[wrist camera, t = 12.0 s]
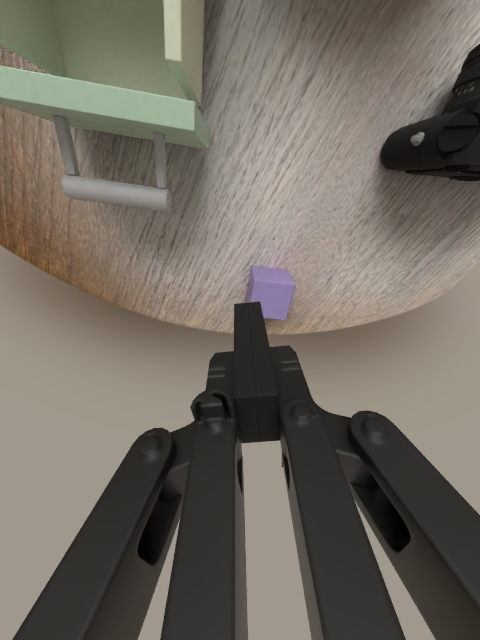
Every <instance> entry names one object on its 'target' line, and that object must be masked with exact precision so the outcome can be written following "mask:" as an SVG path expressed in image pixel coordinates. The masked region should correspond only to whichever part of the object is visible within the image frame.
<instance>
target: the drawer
mask: <svg viewBox="0 0 480 640" xmlns="http://www.w3.org/2000/svg"><path fill="white" fill-rule="evenodd" d="M203 33H204V0H0V45H2V46H4V47H6V48H7V49H9V50H11V51H12V52H14V53H16V54H18V55H19V56H21V57H23V58H24V59H26V60H28V61H29V62H31V63H33V64H35V65H36V66H38V67H40V68H41V69H43V70H45V71H47V72H48V73H50V74H52V75H48V74H43V73H37V72H32V71H26V70H21V69H15V68H10V67H5V66H0V104H2V105H5V106H8V107H11V108H14V109H17V110H20V111H23V112H26V113H29V114H32V115H35V116H38V117H41V118H44V119H47V120H50V121H53V122H54V124H55V128H56V132H57V136H58V140H59V145H60V149H61V153H62V157H63V161H64V166H65V170H66V173H67V174H65V175H63V177H62V187H63V190H64V192H65V194H66V195H67V196H68V197H69V198H72V199H79V200H86V201H93V202H100V203H107V204H115V205H122V206H129V207H136V208H143V209H150V210H157V211H164V212H170V210H171V205H172V198H171V192H170V190H169V189H166V188H167V175H166V148H165V142H166V143H172V144H178V145H184V146H190V147H196V148H202V149H208V150H209V140H210V131H209V129H208V127H207V125H206V123H205V121H204V119H203V117H202V115H201V113H200V111H199V109H198V107H197V106H199V107H201V102H202V67H203ZM70 127H76V128H82V129H88V130H94V131H100V132H106V133H112V134H118V135H124V136H130V137H136V138H142V139H148V140H154V151H155V168H156V185H157V187H151V186H144V185H138V184H131V183H124V182H118V181H111V180H104V179H97V178H91V177H84V176H77V175H80V173H79V168H78V164H77V159H76V154H75V150H74V145H73V140H72V135H71V131H70Z"/></svg>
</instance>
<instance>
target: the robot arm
mask: <svg viewBox="0 0 480 640" xmlns="http://www.w3.org/2000/svg"><path fill="white" fill-rule="evenodd" d="M190 408H191V410H192V413H193V416H194V419H195V421H193V422H192V423H191V424H189V425H187V426H185V427H183V428H181V429H178V430H176V431H173V432H170V433H169V431H168V430H166V429H163V428H153V429H151V430H148V431H146V432H145V433H143V434H142V435H141V436H139V437H138V439H137V440H136V441H135V442H134V443H133V445H132V446H131V448H130V450H129V451H128V453H127V455H126V456H125V458H124V459H123V461H122V463H121V464H120V466H119V468H118V469H117V471H116V472H115V474H114V476H113V477H112V479H111V481H110V482H109V484H108V485H107V487H106V489H105V490H104V492H103V494H102V495H101V497H100V498H99V500H98V502H97V503H96V505H95V507H94V508H93V510H92V512H91V513H90V515H89V516H88V518H87V520H86V521H85V523H84V524H83V526H82V528H81V529H80V531H79V533H78V534H77V536H76V537H75V539H74V541H73V542H72V544H71V545H70V547H69V549H68V550H67V552H66V554H65V555H64V557H63V558H62V560H61V562H60V563H59V565H58V567H57V568H56V570H55V571H54V573H53V575H52V577H51V578H50V580H49V581H48V583H47V584H46V586H45V588H44V590H43V591H42V593H41V594H40V596H39V597H38V599H37V601H36V602H35V604H34V606H33V607H32V609H31V610H30V612H29V614H28V615H27V617H26V619H25V620H24V622H23V623H22V625H21V627H20V628H19V630H18V632H17V633H16V635H15V636H14V638H13V640H138V637H139V634H140V631H141V628H142V625H143V622H144V619H145V617H146V614H147V611H148V608H149V605H150V602H151V599H152V597H153V594H154V591H155V588H156V585H157V582H158V579H159V576H160V573H161V571H162V568H163V564H164V562H165V559H166V556H167V553H168V550H169V548H170V545H171V542H172V539H173V536H174V533H175V530H176V527H177V524H178V522H179V519H180V523H179V529H178V536H177V542H176V548H175V554H174V560H173V566H172V572H171V578H170V584H169V590H168V596H167V602H166V608H165V615H164V621H163V627H162V633H161V639H160V640H248V626H247V590H246V589H247V588H246V553H245V516H244V484H243V483H244V481H243V457H242V453H241V452H242V449H241V442H242V443H251V442H263V441H278V440H280V442H281V447H282V467H284V473H285V478H286V485H287V491H288V498H289V503H290V509H291V516H292V522H293V528H294V534H295V539H296V546H297V552H298V558H299V565H300V571H301V576H302V583H303V588H304V595H305V601H306V607H307V613H308V619H309V625H310V632H311V638H312V640H406V639H405V636H404V634H403V631H402V628H401V625H400V623H399V620H398V617H397V615H396V612H395V609H394V607H393V604H392V601H391V598H390V596H389V593H388V590H387V588H386V585H385V582H384V579H383V577H382V574H381V571H380V569H379V566H378V563H377V561H376V558H375V555H374V553H373V550H372V547H371V544H370V542H369V539H368V536H367V534H366V531H365V528H364V525H363V523H362V520H361V517H360V515H359V512H358V509H357V506H356V504H355V501H356V503H357V505H358V506H359V508H360V510H361V512H362V513H363V515H364V517H365V518H366V520H367V522H368V523H369V525H370V527H371V529H372V531H373V532H374V534H375V535H376V537H377V539H378V541H379V543H380V544H381V546H382V548H383V549H384V551H385V553H386V554H387V556H388V558H389V560H390V561H391V563H392V565H393V566H394V568H395V570H396V572H397V574H398V575H399V577H400V579H401V580H402V582H403V584H404V586H405V587H406V589H407V591H408V592H409V594H410V596H411V597H412V599H413V601H414V603H415V604H416V606H417V608H418V610H419V611H420V613H421V615H422V616H423V618H424V620H425V622H426V623H427V625H428V627H429V629H430V630H431V632H432V634H433V635H434V637H435V639H436V640H480V515H479V514H478V513H477V512H476V511H475V510H474V509H473V508H472V507H471V506H470V504H469V503H468V502H467V501H466V500H465V499H464V498H463V497H462V496H461V495H460V494H459V493H458V492H457V491H456V490H455V489H454V487H453V486H452V485H451V484H450V483H449V482H448V481H447V480H446V479H445V478H444V477H443V476H442V475H441V474H440V472H439V471H438V470H437V469H436V468H435V467H434V466H433V465H432V464H431V463H430V462H429V461H428V460H427V459H426V458H425V456H423V454H422V453H421V452H420V451H419V450H418V449H417V448H416V447H415V446H414V445H413V444H412V443H411V442H410V441H409V439H407V437H406V436H405V435H404V434H403V433H402V432H401V431H400V430H399V429H398V428H397V427H396V426H395V425H394V424H393V423H392V422H391V421H390V420H389V419H387V418H386V417H385V416H383V415H381V414H379V413H376V412H372V411H359V412H357V413H356V414H354V415H353V416H352V418H350V417H345V416H340V415H336V414H332V413H329V412H327V411H325V410H323V409H321V408H320V407H319V406H318V405H317V404H316V403H315V402H314V401H313V399H312V397H311V394H310V391H309V388H308V386H307V383H306V380H305V377H304V374H303V371H302V369H301V366H300V363H299V360H298V357H297V355H296V352H295V351H294V350H293V349H292V348H291V347H290V346H289V345H288V346H279V347H269V342H268V337H267V333H266V328H265V323H264V318H263V313H262V308H261V303H260V301H259V302H249V303H239V304H234V351H232V352H221V353H215V354H214V356H213V357H212V359H211V360H210V364H209V371H208V378H207V384H206V391H204V392H202V393H201V394H199V395H198V396H197V397H196V398H195V399H194V400H193V402H192V405H191V407H190ZM354 500H355V501H354ZM180 516H181V517H180Z"/></svg>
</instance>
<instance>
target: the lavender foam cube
mask: <svg viewBox="0 0 480 640" xmlns="http://www.w3.org/2000/svg"><path fill="white" fill-rule="evenodd" d="M295 286H296V284H295V282H294V281H293V279H292V277H291V276H290V274H289V272H288V271H287V270H281V269H272V268H264V267H256V266H251V271H250V278H249V284H248V290H247V296H246V303H249V302H259V301H260V303H261V308H262V313H263V318H269V319H278V320H286V318H287V314H288V311H289V307H290V304H291V300H292V297H293V293H294V290H295Z"/></svg>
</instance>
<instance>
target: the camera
mask: <svg viewBox="0 0 480 640" xmlns="http://www.w3.org/2000/svg"><path fill="white" fill-rule="evenodd" d="M452 93H453V94H452V96H451V99H450V101H449V102H448V103H447V104H446V106H445V108H444V110H443V113H442V115H439V116H436V117H432V118H429V119H426V120H423V121H420V122H417V123H414V124H411V125H408V126H405V127H402V128H400V129H398V130H397V131H395V132H394V133H392V134H391V135H390V136H389V137H388V139H387V140H386V142H385V144H384V145H383V147H382V151H381V162H382V164H383V165H384V167H385V168H386V169H389V170H396V171H406V172H405V173H408V174H415V175H427V176H439V177H449V179H454V180H459V181H480V44H479V45H478V46H476V47H475V48H474V49H473V50H472V51H470V52H469V54H468V56H467V58H466V60H465V61H464V64H463V66H462V68H461V73H460V74H459V75H458V78H457V80H456V82H455V85H454V87H453V90H452Z"/></svg>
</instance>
